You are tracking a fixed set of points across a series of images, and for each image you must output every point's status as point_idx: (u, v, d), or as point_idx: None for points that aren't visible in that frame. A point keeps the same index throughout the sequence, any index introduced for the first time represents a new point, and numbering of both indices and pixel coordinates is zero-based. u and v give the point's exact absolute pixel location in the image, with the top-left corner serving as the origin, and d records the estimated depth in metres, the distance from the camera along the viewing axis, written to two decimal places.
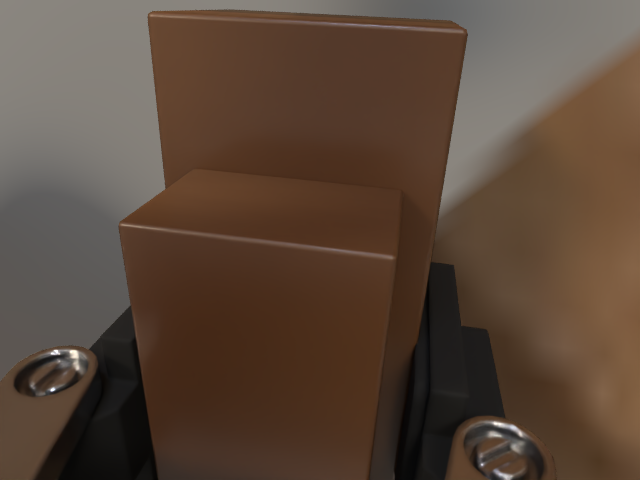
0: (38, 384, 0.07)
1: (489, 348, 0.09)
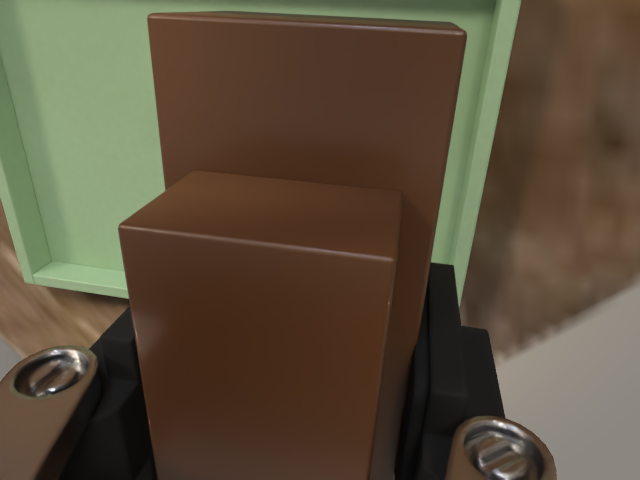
0: (38, 384, 0.07)
1: (490, 348, 0.09)
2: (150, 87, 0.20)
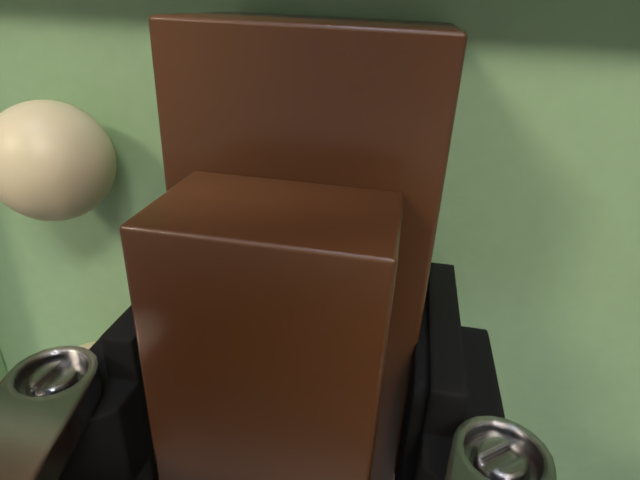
0: (38, 384, 0.07)
1: (489, 348, 0.09)
2: None
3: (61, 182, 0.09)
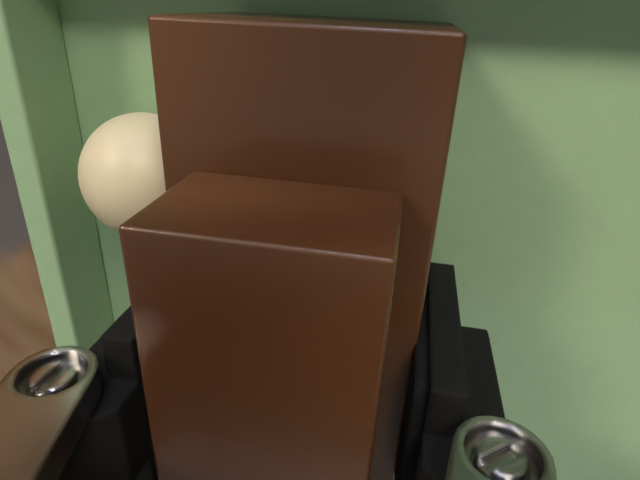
0: (38, 384, 0.07)
1: (489, 348, 0.09)
2: None
3: (82, 188, 0.09)
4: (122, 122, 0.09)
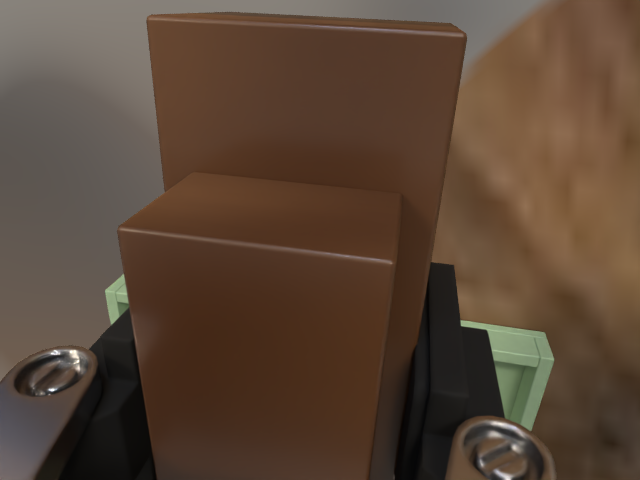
0: (38, 384, 0.07)
1: (489, 348, 0.09)
2: None
3: None
4: None
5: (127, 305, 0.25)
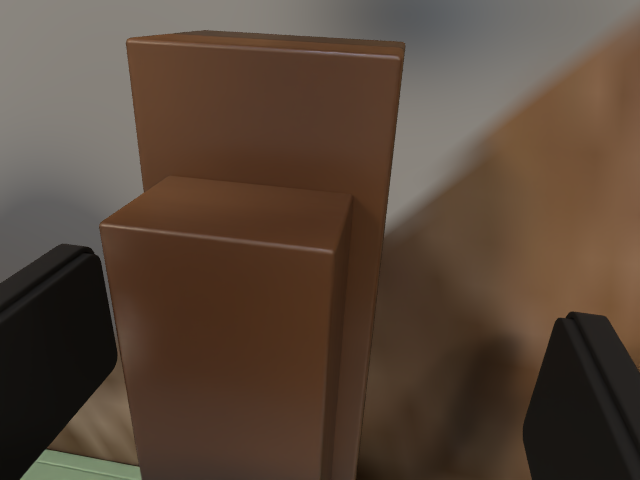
0: None
1: None
2: None
3: None
4: None
5: None
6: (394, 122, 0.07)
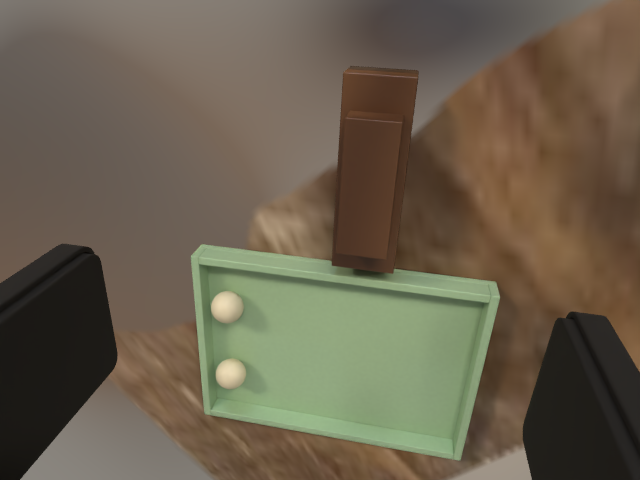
0: None
1: None
2: (295, 320, 0.37)
3: (211, 307, 0.36)
4: (225, 293, 0.36)
5: (203, 267, 0.36)
6: (415, 94, 0.26)
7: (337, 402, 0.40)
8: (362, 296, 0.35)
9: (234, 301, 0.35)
